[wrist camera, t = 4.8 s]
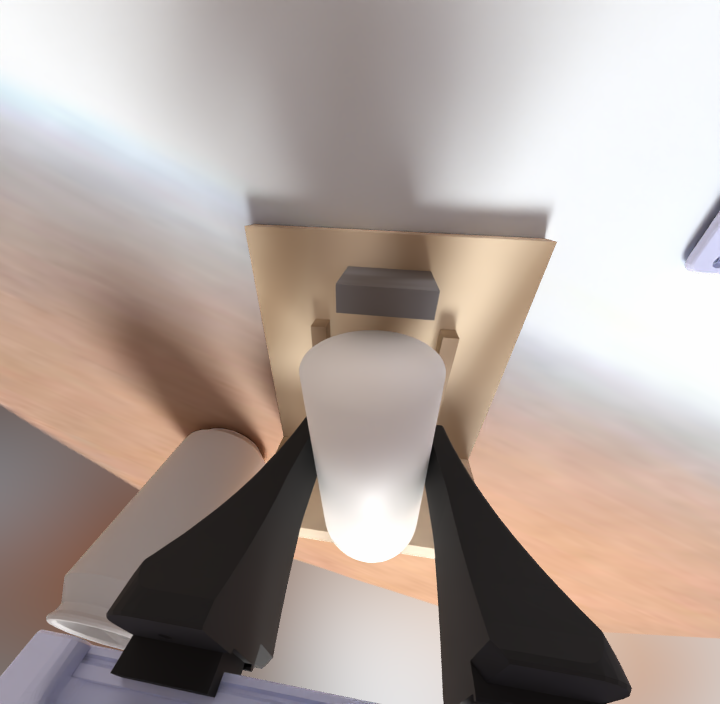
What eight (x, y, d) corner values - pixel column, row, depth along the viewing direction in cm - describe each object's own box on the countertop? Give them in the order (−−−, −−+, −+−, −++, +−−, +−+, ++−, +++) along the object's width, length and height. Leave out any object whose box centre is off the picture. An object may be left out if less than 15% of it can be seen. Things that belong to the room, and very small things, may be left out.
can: (174, 425, 23) (-8, 612, 12) (246, 417, 21) (103, 628, 11) (218, 476, 26) (104, 654, 16) (283, 473, 24) (201, 671, 14)
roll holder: (545, 238, 12) (697, 281, 6) (461, 457, 20) (488, 567, 14) (254, 224, 13) (133, 247, 7) (289, 436, 21) (248, 528, 15)
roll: (435, 332, 10) (461, 420, 6) (414, 468, 15) (421, 569, 11) (320, 328, 11) (274, 406, 7) (334, 461, 16) (313, 554, 11)
